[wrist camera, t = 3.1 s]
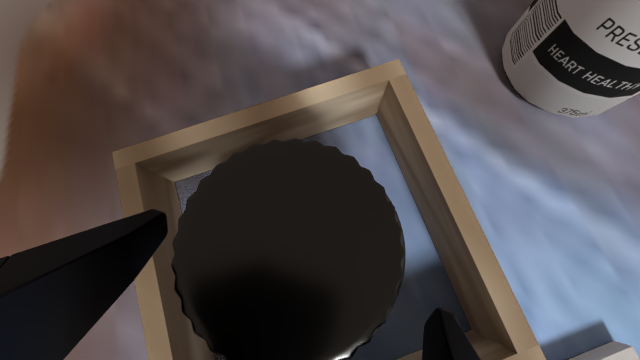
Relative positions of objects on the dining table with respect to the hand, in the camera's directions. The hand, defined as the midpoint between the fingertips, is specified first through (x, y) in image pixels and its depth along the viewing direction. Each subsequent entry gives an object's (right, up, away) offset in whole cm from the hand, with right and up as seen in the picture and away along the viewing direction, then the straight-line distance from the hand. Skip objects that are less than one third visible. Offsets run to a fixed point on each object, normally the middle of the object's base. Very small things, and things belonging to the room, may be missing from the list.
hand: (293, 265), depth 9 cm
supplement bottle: (0, -2, +8) cm, 9 cm away
